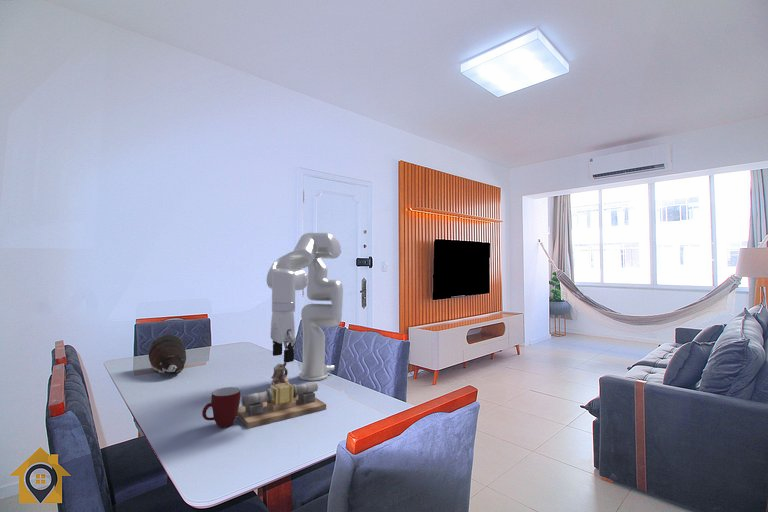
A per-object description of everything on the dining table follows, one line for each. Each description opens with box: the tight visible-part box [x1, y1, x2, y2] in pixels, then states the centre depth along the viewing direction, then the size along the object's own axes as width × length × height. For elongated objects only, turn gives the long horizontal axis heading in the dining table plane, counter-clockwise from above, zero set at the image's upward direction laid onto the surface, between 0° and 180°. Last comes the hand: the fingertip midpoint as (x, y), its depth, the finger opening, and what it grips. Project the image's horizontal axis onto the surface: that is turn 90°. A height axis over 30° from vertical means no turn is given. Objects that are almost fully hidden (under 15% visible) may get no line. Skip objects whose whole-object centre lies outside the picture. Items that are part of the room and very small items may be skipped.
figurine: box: [270, 361, 290, 385], centre depth 138 cm, size 7×7×12 cm
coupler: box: [269, 382, 294, 405], centre depth 124 cm, size 6×5×5 cm
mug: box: [201, 386, 241, 429], centre depth 112 cm, size 10×8×10 cm
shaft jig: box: [236, 381, 327, 429], centre depth 124 cm, size 26×14×8 cm, turn 127°
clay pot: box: [148, 334, 187, 376], centre depth 166 cm, size 15×15×25 cm
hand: (283, 358), depth 125 cm, fingers open, 9 cm apart
